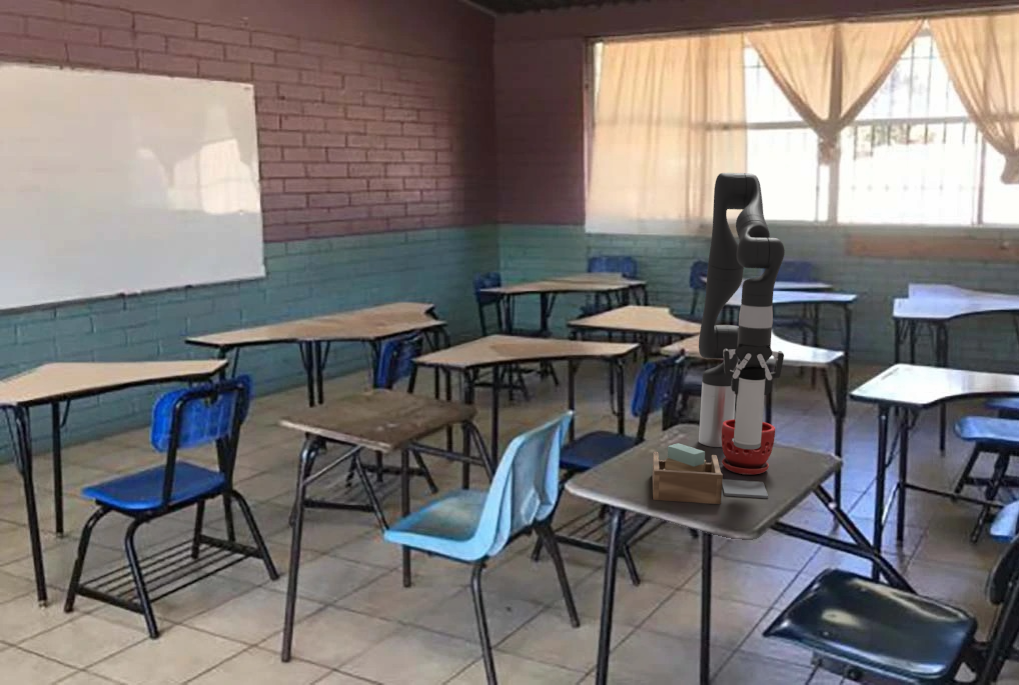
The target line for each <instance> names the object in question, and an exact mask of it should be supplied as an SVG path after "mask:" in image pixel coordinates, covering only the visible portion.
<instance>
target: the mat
mask: <svg viewBox="0 0 1019 685" xmlns="http://www.w3.org/2000/svg"><path fill="white" fill-rule="evenodd" d="M722 492H723V495H724V496H727V497H740V498H741V497H742V498H757V499H769V495H768V491H767V488H766V486H765V484H764V481H756V480H755V481H754V480H742V479H741V480H739V479H724V478H723V479H722Z"/></svg>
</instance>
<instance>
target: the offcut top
mask: <svg viewBox="0 0 1019 685" xmlns="http://www.w3.org/2000/svg"><path fill="white" fill-rule="evenodd" d="M667 457H668V458H670V459H673V460H676V461H679V462H682V463H685V464H688V465H691V466H697V465H701V464H704V461H705V460H706V451H705V450H702V449H698V448H695V447H691V446H689V445H685V444H682V443H674V444H671V445H668V446H667Z"/></svg>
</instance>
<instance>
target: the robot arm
mask: <svg viewBox="0 0 1019 685" xmlns="http://www.w3.org/2000/svg"><path fill="white" fill-rule="evenodd" d="M728 210H739V211H740V210H741V211H740V212H739V214H738V216H737V218H736V222H735V229H736V233H737V236H738V241H737V240H736V238H735V236H734V235H733V232H732V230H731V227H730V225H729V223H728V218H727V211H728ZM712 211H713V213H712V228H711V229H712V231H711V240H710V249H709V254H708V260H707V261H708V262H707V271H706V272H707V273H706V284H705V285H706V287H705V298H704V299H705V300H704V307H703V313H702V319H701V325H700V330H699V336H698V351H699V355H700V356H701V357H702V358H705V359H711V360H712V359H713V360H716V359H719V360H720V359H721V360H723V361H722V363H720V364H719V365H716V366H715V367H712V368H708V369H706V370H704V371H703V373H702V375H701V376H702V379H701V380H702V381H701V398H700V416H699V417H700V418H699V429H698V430H699V431H698V443H699V444H701V445H704V446H707V447H711V448H722V440H721V436H722V424H723V422H724V421H726V420H732V419H735V413H736V397H737V394H738V382H739V379H738V376H739V374H740V371H741V370H742V368H744V367H745V366H746V367H756V368H760V367H762V369H763V368H765V372H766V373H765V376H766V377H765V378H766V380H765V394H764V396H769V394H771V392H772V381H773V380H774V379H776V378H777V379H779V378H780V377H781V374H782V369H783V364H784V358H785V353H784V352H783V351H782V350H778V351H774V350H772V348H771V345H772V332H773V323H774V320H773V316H774V315H773V314H774V312H773V305H774V304H773V302H774V289H775V284H776V281H777V278H778V275H779V271H780V268H781V266H782V264H783V261H784V258H785V251H786V250H785V245H784V243H783V241H782V240H780V239H779V238H775V237H771V235H770V229H769V228H768V224H767V222H766V219H765V215H764V203H763V196H762V188H761V183H760V180H759V178H758V177H757V175H756V174H754V173H747V172H721V173H719V174H718V175H717V176H716V179H715V184H714V191H713V209H712ZM744 268H745V269H762V270H763V269H764V272H763V273H762V274H761V275H760V276H756V277H752V278H747V279H745V280H744V281H743V275H744ZM741 284H742V286H741ZM740 286H741V287H742V288H741V301H740V309H739V315H738V316H739V317H738V326H737V325H730V324H728V325H727V324H723V325H722V324H716V323H717V319H718V317H719V315H720V313H721V311H722V310H723V308H724V307H725V306H726V304H727V303H728V302H729V301H730V299H731V298H732V297H733V296H734V295H735V294H736V293H737V291H738V289H739V288H740ZM771 357H773V360H774V361H775V364H774V369H773V371H771V372H770V369H769V367H768V365H767V361H769V359H770V358H771ZM764 366H765V367H764ZM732 441H733V442H734V438H733V439H732Z"/></svg>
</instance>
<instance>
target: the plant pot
mask: <svg viewBox="0 0 1019 685" xmlns="http://www.w3.org/2000/svg"><path fill="white" fill-rule="evenodd" d="M734 430H735V418H734V419H732V420H726V421H724V422H723V424H722V436H721V440H722V447H721V449H722V452H723V454H724V458H723V459H722V460H721V464H722V465H723V467H724V468H725V469H726V470H728V471H729V472H732V473H736V474H739V475H741V474H742V475H750V476H751V475H753V476H754V475H759V474H762V473H765V472H766V471H768V470H769V466H770V465H769V463H768V460H769V458H770V457H771V454H772V452H773V448H774V444H775V437H776V427H775V426H774V425H773V424H771V423H768V422H764V421H762V433H761V446H760V448H758V449H742V448H738V447H736V446H735V445H734ZM732 439H733V441H732Z"/></svg>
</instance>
